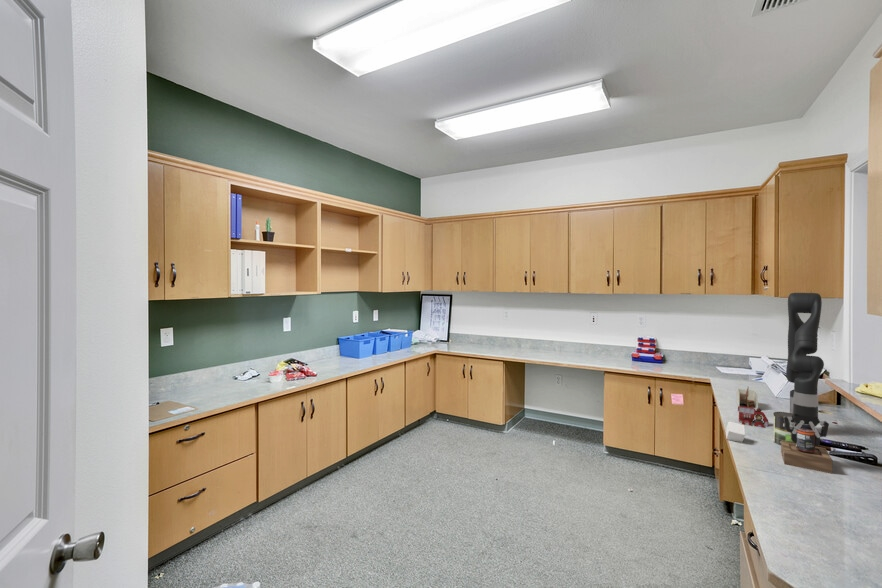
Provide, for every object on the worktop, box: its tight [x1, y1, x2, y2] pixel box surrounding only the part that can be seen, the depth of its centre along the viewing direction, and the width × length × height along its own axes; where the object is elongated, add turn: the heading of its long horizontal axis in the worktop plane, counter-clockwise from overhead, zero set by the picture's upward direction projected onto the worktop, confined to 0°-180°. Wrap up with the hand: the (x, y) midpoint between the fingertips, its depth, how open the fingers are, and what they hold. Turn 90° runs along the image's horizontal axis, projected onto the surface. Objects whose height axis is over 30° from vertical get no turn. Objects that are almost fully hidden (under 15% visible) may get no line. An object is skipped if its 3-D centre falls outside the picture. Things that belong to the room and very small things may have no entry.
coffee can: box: [772, 411, 795, 446], centre depth 179 cm, size 10×10×14 cm
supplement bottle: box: [796, 424, 816, 453], centre depth 161 cm, size 6×6×11 cm
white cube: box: [725, 421, 746, 443], centre depth 184 cm, size 6×6×6 cm
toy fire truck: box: [737, 405, 769, 429], centre depth 203 cm, size 7×12×10 cm, turn 56°
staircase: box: [736, 386, 759, 410], centre depth 230 cm, size 9×11×17 cm
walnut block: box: [780, 441, 833, 475], centre depth 161 cm, size 14×14×6 cm
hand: (805, 443), depth 162 cm, fingers closed on supplement bottle, 6 cm apart
